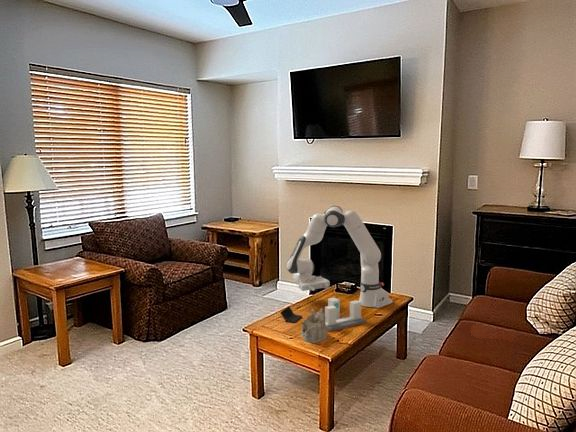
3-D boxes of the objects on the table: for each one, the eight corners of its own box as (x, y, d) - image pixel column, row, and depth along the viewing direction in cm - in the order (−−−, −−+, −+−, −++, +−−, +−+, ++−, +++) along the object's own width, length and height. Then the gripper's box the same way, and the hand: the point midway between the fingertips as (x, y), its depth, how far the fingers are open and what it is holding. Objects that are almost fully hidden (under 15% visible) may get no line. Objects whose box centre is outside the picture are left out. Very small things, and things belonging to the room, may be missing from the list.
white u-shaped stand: (355, 316, 256) (355, 298, 254) (366, 322, 247) (366, 303, 245) (319, 325, 244) (319, 305, 243) (329, 331, 236) (329, 311, 234)
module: (334, 314, 259) (334, 297, 258) (339, 318, 254) (339, 300, 253) (328, 316, 257) (328, 298, 256) (333, 319, 252) (333, 301, 251)
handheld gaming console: (298, 321, 247) (288, 306, 248) (288, 327, 248) (278, 313, 250) (303, 316, 258) (294, 302, 259) (294, 323, 259) (284, 308, 261)
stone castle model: (310, 326, 242) (309, 301, 239) (333, 335, 231) (333, 310, 228) (291, 337, 231) (290, 311, 228) (314, 347, 220) (314, 320, 217)
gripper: (295, 279, 273) (306, 285, 260) (322, 275, 282) (334, 281, 270) (295, 289, 273) (306, 295, 261) (322, 284, 283) (334, 290, 271)
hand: (320, 288), depth 266 cm, fingers open, 8 cm apart
